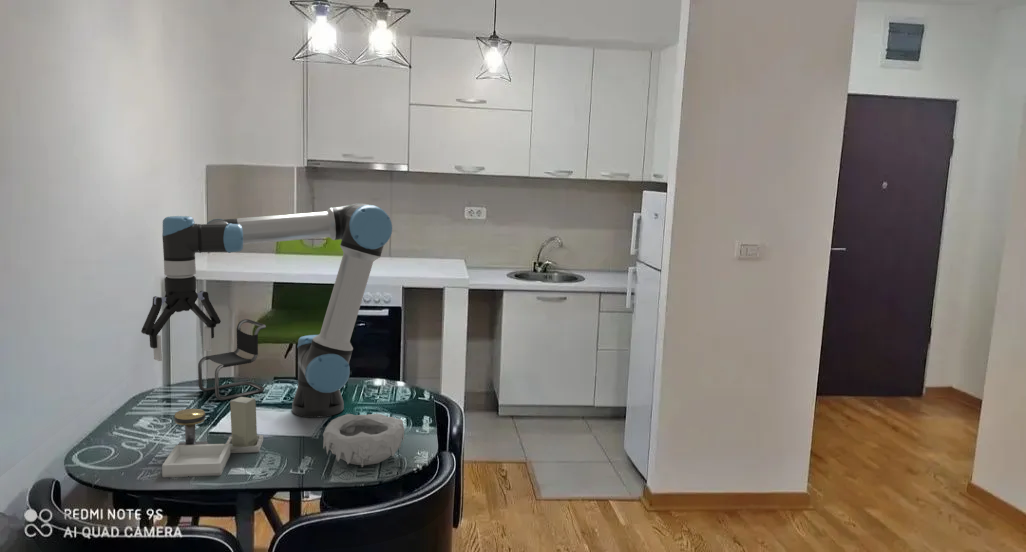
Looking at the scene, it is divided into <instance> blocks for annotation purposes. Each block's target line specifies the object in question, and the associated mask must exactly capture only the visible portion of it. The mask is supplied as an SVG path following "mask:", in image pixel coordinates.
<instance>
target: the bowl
mask: <svg viewBox="0 0 1026 552" xmlns="http://www.w3.org/2000/svg"><path fill="white" fill-rule="evenodd" d="M322 436H323V439H322V440H323V441H322V442H323V445H322V446H323V447H322V449H323V450H326V454H327V455H328V454H329V451H331V453H332V454H333V455H334V456H335V461H337V462H339V461H340V459H341V460H342V461H344V462H346V463H347V465H349V464H350V465H356V466H360V467H361V468H363V467H364V466H371V465H376V464H380V463H381V462H384V461H385V460H388V459H389V458H390V457H391V456H392V457H394V456H395V454H396V452H397V451H398V450H399V449H400V450H401V446H402V443H403V444H404V440H405V426H404V422H403V419H401V418H396V417H393V416H387V415H384V414H382V413H372V414H371V413H368V414H357V415H355V414H352V413H347V414H344V415H340V416H337V417H335V418H334V419H331V420H330V422H328V424H327V425H326V427H325V428H324V431H323V433H322Z"/></svg>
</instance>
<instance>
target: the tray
mask: <svg viewBox="0 0 1026 552" xmlns="http://www.w3.org/2000/svg"><path fill="white" fill-rule="evenodd" d="M230 457H231V453H230V444H226V443H208V444H200V445H178V444H176V445H175V446H174V447H173V449H172V450H171V452H170V453H169V454H168V456H167V457H166V459H165V461H164V462H163V463H162V465H161V468H162V469H161V470H162V471H161V474H162V478H185V477H186V478H187V477H188V476H189V477H211V476H212V477H214V476H221V475H222V473H223V471H224V470H225V468H226V465H227V463H228V461H229V459H230ZM189 477H188V478H189Z"/></svg>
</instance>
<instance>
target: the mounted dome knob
mask: <svg viewBox="0 0 1026 552" xmlns="http://www.w3.org/2000/svg"><path fill="white" fill-rule="evenodd" d="M205 420H206V412H205V410H203V409H199V408H188V409H187V408H186V409H181V410H178V411H177V412H175V413H174V416H173V421H174V423H175V424H176V425H179V426H184V431H185V432H184V433H185V437H184V438H185V441H180V442H178V444H177V445H200V444H209V442H208V441H204V440H203V441H196V425H198V424H200V423H203V422H205Z"/></svg>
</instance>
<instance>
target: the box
mask: <svg viewBox="0 0 1026 552" xmlns="http://www.w3.org/2000/svg"><path fill="white" fill-rule="evenodd" d="M256 401H257V400H256V398H255V397H252V398H251V397H246V396H242V397H237V398H233V399H231V400H230V401H229V405H230V406H229V407H230V428H231V430H230V431H231V436H232V444H231V446H256V445H257V442H258V441H257V435H258V429H257V427H258V425H257V404H256Z"/></svg>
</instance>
